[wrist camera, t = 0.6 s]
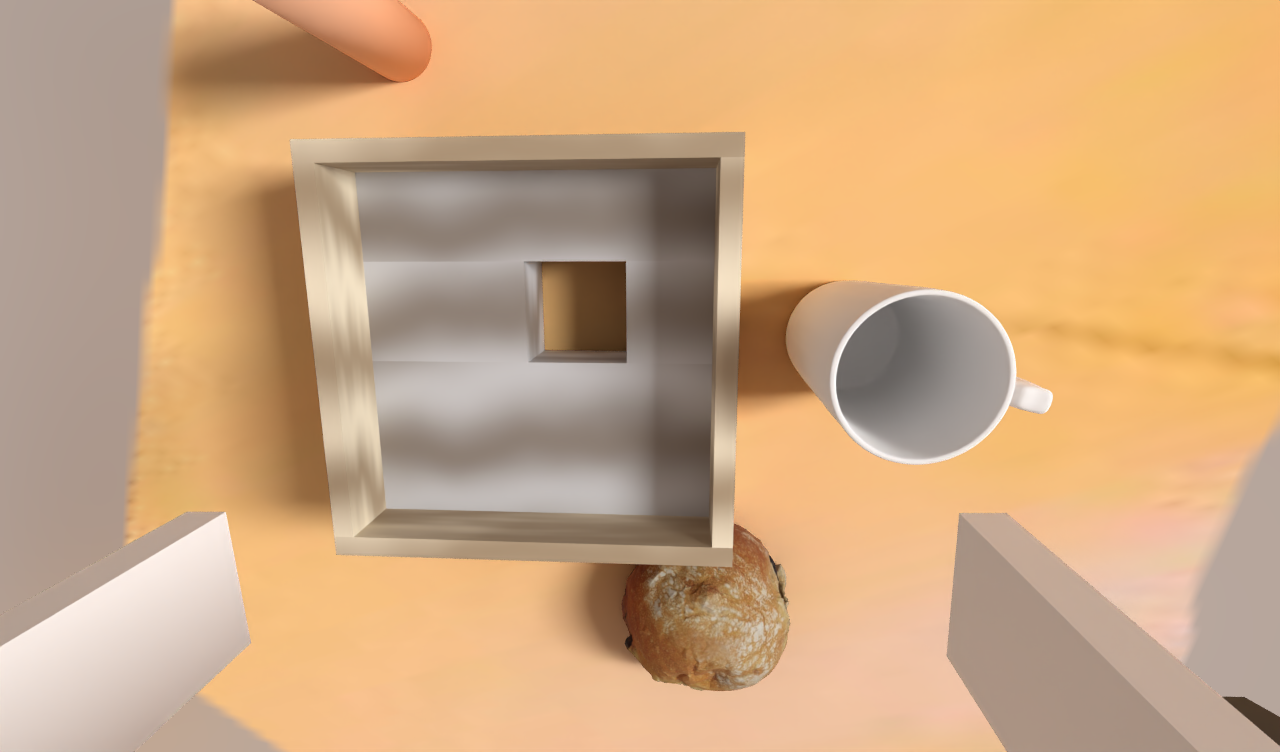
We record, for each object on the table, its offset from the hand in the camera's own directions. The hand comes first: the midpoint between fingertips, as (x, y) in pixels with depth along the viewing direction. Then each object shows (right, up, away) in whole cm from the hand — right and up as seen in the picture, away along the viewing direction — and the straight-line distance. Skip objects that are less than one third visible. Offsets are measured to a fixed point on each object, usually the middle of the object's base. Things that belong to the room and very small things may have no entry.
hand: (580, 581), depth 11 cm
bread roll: (+5, -10, +28) cm, 30 cm away
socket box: (-4, +6, +25) cm, 26 cm away
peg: (-12, +22, +22) cm, 33 cm away
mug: (+14, +6, +24) cm, 28 cm away
